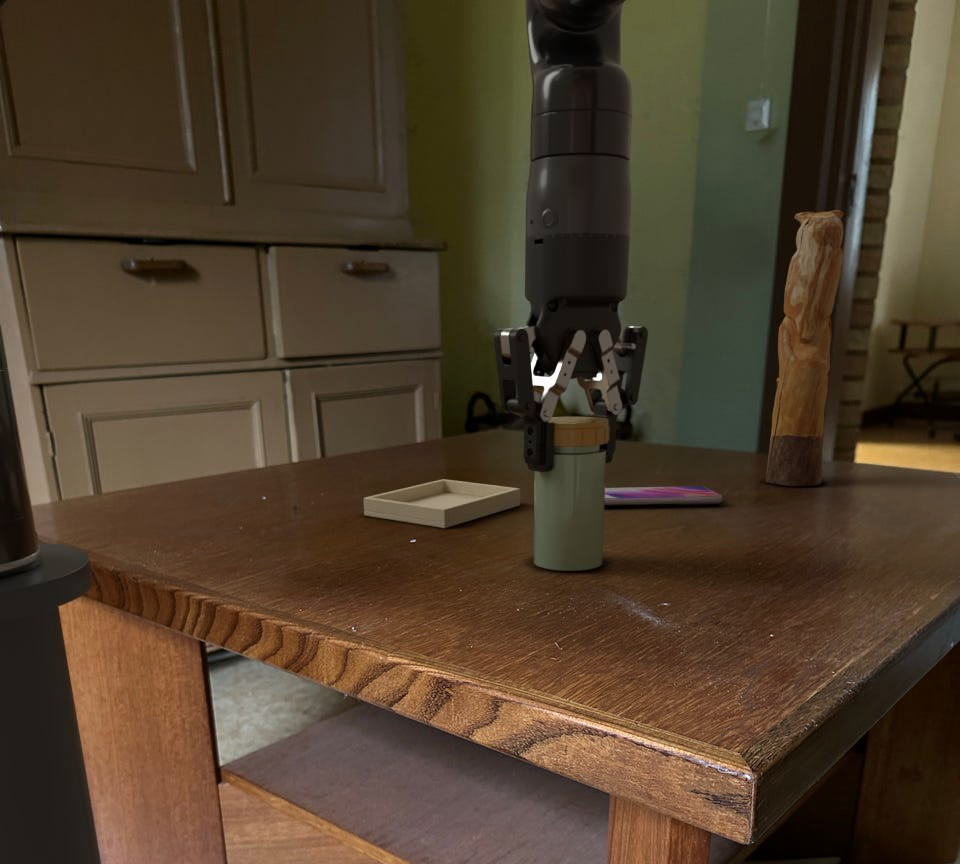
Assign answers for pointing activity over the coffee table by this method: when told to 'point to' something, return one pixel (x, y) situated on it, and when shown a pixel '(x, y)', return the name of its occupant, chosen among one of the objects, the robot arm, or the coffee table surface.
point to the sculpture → (805, 351)
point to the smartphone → (661, 496)
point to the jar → (570, 510)
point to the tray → (442, 502)
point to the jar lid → (580, 431)
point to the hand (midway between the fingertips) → (570, 465)
